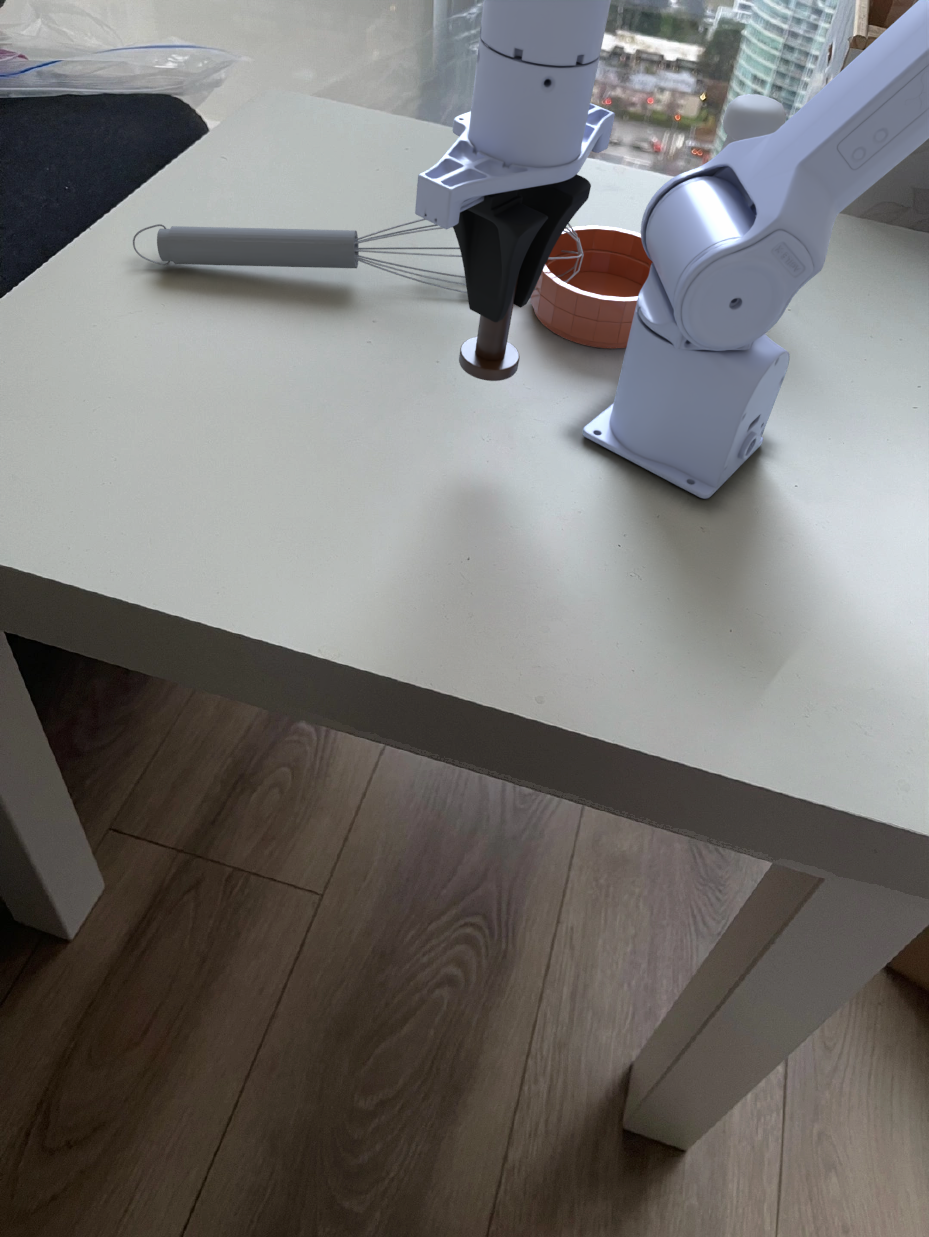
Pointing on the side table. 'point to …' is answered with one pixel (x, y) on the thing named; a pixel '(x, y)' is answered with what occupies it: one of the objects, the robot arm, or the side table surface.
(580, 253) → the kitchen whisk
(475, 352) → the coffee tamper
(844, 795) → the side table surface
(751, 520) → the side table surface
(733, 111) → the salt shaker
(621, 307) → the bowl
